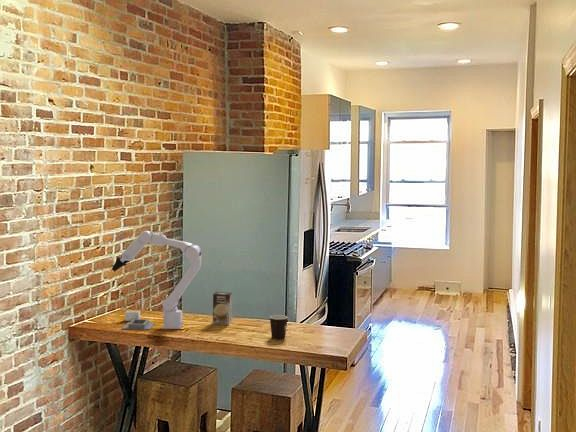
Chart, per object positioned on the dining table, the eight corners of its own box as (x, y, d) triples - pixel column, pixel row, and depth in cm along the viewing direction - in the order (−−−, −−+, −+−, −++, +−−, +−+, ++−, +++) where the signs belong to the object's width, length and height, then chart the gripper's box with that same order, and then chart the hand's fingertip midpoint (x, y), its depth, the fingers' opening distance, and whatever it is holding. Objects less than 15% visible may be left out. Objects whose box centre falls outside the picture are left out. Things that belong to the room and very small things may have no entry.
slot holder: (155, 323, 338) (155, 318, 338) (149, 330, 325) (150, 325, 325) (128, 323, 338) (128, 318, 338) (121, 329, 325) (121, 324, 325)
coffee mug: (277, 334, 322) (277, 314, 321) (290, 337, 316) (291, 317, 316) (261, 338, 313) (261, 318, 312) (275, 342, 308) (275, 321, 307)
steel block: (140, 320, 346) (140, 310, 346) (138, 322, 342) (138, 312, 341) (127, 319, 346) (127, 310, 346) (125, 321, 342) (125, 312, 341)
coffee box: (211, 324, 339) (212, 293, 338) (214, 321, 345) (214, 291, 344) (229, 325, 338) (229, 294, 337) (231, 322, 344) (232, 292, 343)
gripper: (131, 241, 337) (113, 260, 338) (123, 246, 322) (105, 265, 324) (141, 251, 337) (123, 269, 339) (134, 256, 323) (115, 275, 324)
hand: (115, 268), depth 331 cm, fingers open, 7 cm apart
